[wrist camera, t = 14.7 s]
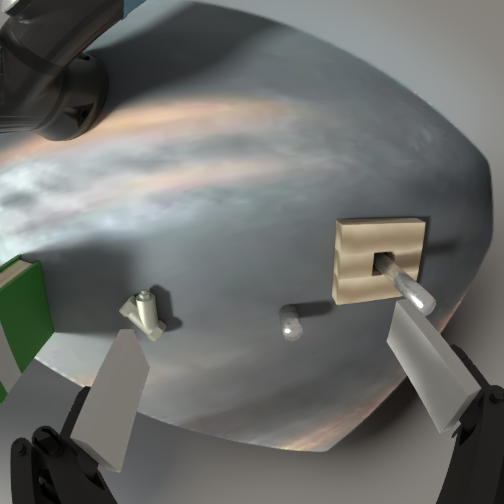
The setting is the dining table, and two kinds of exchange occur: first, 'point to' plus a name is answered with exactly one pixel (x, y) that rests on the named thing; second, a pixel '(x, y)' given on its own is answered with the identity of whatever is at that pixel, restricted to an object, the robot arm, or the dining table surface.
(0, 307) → the hardback book
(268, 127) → the dining table surface
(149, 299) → the pipe fitting
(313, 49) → the dining table surface
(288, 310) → the short pin
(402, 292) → the long pin
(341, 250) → the hole plate
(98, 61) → the robot arm
